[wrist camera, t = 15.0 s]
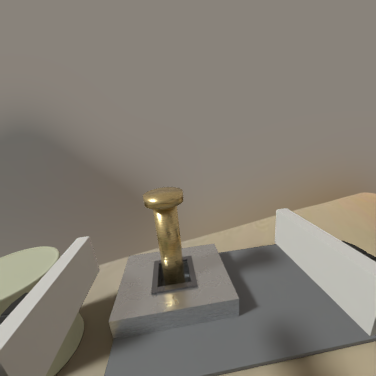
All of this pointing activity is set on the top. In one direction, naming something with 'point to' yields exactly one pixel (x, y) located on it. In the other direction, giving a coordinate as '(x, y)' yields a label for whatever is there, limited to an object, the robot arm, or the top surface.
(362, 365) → the top surface
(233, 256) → the mat
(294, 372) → the top surface
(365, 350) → the top surface
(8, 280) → the can
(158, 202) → the pin
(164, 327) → the grey flat rectangular block
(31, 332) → the robot arm
